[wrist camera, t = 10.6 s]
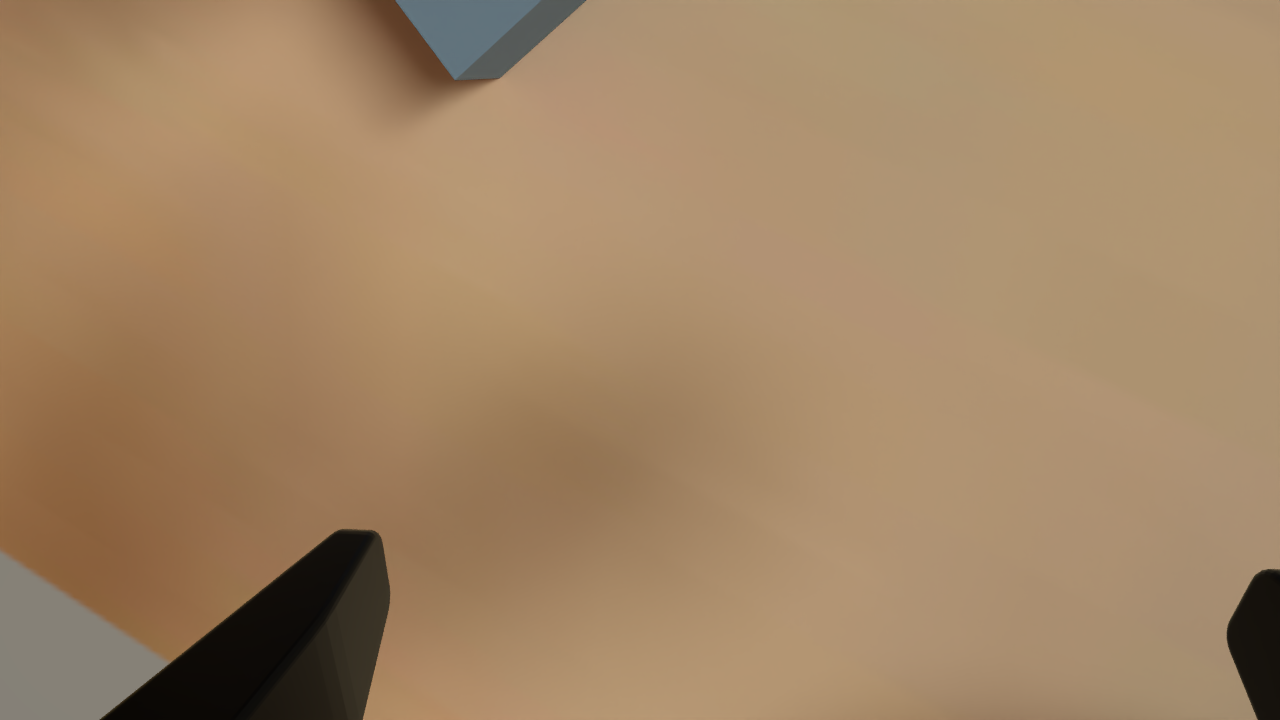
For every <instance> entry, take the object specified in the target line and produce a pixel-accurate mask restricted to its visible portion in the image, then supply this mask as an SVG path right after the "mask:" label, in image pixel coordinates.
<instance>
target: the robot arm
mask: <svg viewBox="0 0 1280 720" xmlns="http://www.w3.org/2000/svg"><path fill="white" fill-rule="evenodd" d="M389 604H390V585H389V579H388V573H387V567H386V561H385V555H384V549H383V543H382V539H381V537H380V535H379V534H378V533H377V532H375V531H373V530H356V529H341V530H338V531H336V532H334V533H333V534H331V535H330V536H329V537H327V538H326V539H325V540H324V541H322V542H321V543H320V544H319V545H317V546H316V547H315V548H314V549H312V550H311V551H310V552H309V553H307V554H306V555H305V556H304V557H302V558H301V559H300V560H299V561H297V562H296V563H295V564H294V565H292V566H291V567H290V568H289V569H287V570H286V571H285V572H284V573H282V574H281V575H280V576H279V577H277V578H276V579H275V580H274V581H272V582H271V583H270V584H269V585H267V586H266V587H265V588H264V589H262V590H261V591H260V592H259V593H257V594H256V595H255V596H254V597H252V598H251V599H250V600H249V601H247V602H246V603H245V604H244V605H242V606H241V607H240V608H239V609H237V610H236V611H235V612H234V613H232V614H231V615H230V616H229V617H227V618H226V619H225V620H224V621H222V622H221V623H220V624H219V625H217V626H216V627H215V628H214V629H212V630H211V631H210V632H209V633H207V634H206V635H205V636H204V637H202V638H201V639H200V640H199V641H197V642H196V643H195V644H194V645H192V646H191V647H190V648H189V649H187V650H186V651H185V652H184V653H182V654H181V655H180V656H179V657H177V658H176V659H175V660H174V661H172V662H171V663H170V664H169V665H167V666H166V667H165V668H164V669H162V670H161V671H160V672H159V673H157V674H156V675H155V676H154V677H152V678H151V679H150V680H149V681H147V682H146V683H145V684H144V685H142V686H141V687H140V688H139V689H137V690H136V691H135V692H134V693H132V694H131V695H130V696H129V697H127V698H126V699H125V700H124V701H122V702H121V703H120V704H119V705H117V706H116V707H115V708H114V709H112V710H111V711H110V712H109V713H107V714H106V715H105V716H104V717H102V718H101V719H100V720H363V716H364V712H365V707H366V703H367V699H368V695H369V691H370V686H371V682H372V678H373V674H374V670H375V665H376V661H377V657H378V653H379V648H380V644H381V640H382V636H383V632H384V627H385V623H386V619H387V615H388V610H389ZM1227 642H1228V647H1229V650H1230V653H1231V655H1232V658H1233V660H1234V663H1235V665H1236V668H1237V670H1238V673H1239V675H1240V678H1241V680H1242V682H1243V685H1244V687H1245V690H1246V692H1247V695H1248V697H1249V700H1250V702H1251V705H1252V707H1253V710H1254V712H1255V714H1256V717H1257V719H1258V720H1280V569H1266V570H1262V571H1261V572H1259V573H1258V574H1256V575H1255V576H1254V577H1253V579H1252V581H1251V582H1250V584H1249V586H1248V588H1247V590H1246V592H1245V593H1244V595H1243V597H1242V599H1241V601H1240V603H1239V604H1238V606H1237V608H1236V610H1235V612H1234V614H1233V616H1232V617H1231V619H1230V621H1229V624H1228V628H1227Z"/></svg>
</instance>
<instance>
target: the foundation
mask: <svg viewBox="0 0 1280 720" xmlns="http://www.w3.org/2000/svg"><path fill="white" fill-rule="evenodd" d="M395 1H396V2H397V3H398V5H399V6H400V7H401V9H402V10H403V11H404V13H405V14H406V15H407V17H408V18H409V19H410V21H411V22H412V24H413V25H414V26H415V28H416V29H417V30H418V32H419V33H420V34H421V36H422V37H423V38H424V40H425V41H426V42H427V44H428V45H429V46H430V48H431V49H432V50H433V52H434V53H435V54H436V56H437V57H438V58H439V60H440V61H441V62H442V64H443V65H444V66H445V68H446V69H447V70H448V72H449V73H450V74H451V76H452V77H453V78H454V80H473V79H494V78H500V77H502V76H503V75H504V74H505V73H506V72H507V71H508V70H509V69H510V68H512V67H513V66H514V65H515V64H516V63H517V62H518V61H519V60H520V59H522V58H523V57H524V56H525V55H526V54H527V53H528V52H529V51H530V50H532V49H533V48H534V47H535V46H536V45H537V44H538V43H539V42H540V41H542V40H543V39H544V38H545V37H546V36H547V35H548V34H549V33H550V32H552V31H553V30H554V29H555V28H556V27H557V26H558V25H559V24H560V23H562V22H563V21H564V20H565V19H566V18H567V17H568V16H569V15H570V14H572V13H573V12H574V11H575V10H576V9H577V8H578V7H579V6H580V5H582V4H583V3H584V2H585V1H586V0H395Z"/></svg>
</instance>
